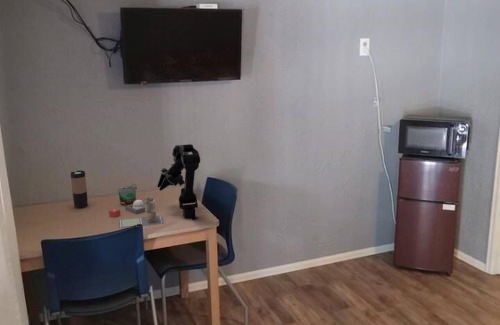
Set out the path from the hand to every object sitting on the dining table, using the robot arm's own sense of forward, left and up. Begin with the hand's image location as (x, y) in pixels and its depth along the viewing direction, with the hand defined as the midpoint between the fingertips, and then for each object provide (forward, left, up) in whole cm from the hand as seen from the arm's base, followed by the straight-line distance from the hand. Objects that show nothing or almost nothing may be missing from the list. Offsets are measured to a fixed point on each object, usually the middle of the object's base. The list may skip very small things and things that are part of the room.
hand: (158, 188), depth 252 cm
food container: (+25, +3, -14) cm, 29 cm away
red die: (+11, +21, -14) cm, 27 cm away
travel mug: (+41, +25, -14) cm, 50 cm away
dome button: (+10, +7, -13) cm, 18 cm away
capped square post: (-9, +12, -13) cm, 19 cm away
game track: (-6, +16, -14) cm, 22 cm away
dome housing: (+10, +7, -14) cm, 18 cm away
